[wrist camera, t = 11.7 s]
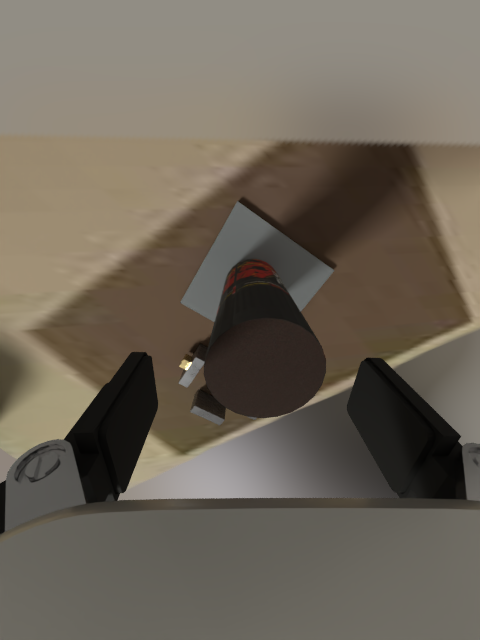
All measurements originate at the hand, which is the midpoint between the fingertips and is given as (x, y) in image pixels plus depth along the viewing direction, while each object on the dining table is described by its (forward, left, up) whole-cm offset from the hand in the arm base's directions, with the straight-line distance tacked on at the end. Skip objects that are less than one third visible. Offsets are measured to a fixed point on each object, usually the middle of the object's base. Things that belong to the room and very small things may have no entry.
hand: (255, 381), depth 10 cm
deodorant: (0, 0, -16) cm, 16 cm away
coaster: (+1, 0, -16) cm, 16 cm away
